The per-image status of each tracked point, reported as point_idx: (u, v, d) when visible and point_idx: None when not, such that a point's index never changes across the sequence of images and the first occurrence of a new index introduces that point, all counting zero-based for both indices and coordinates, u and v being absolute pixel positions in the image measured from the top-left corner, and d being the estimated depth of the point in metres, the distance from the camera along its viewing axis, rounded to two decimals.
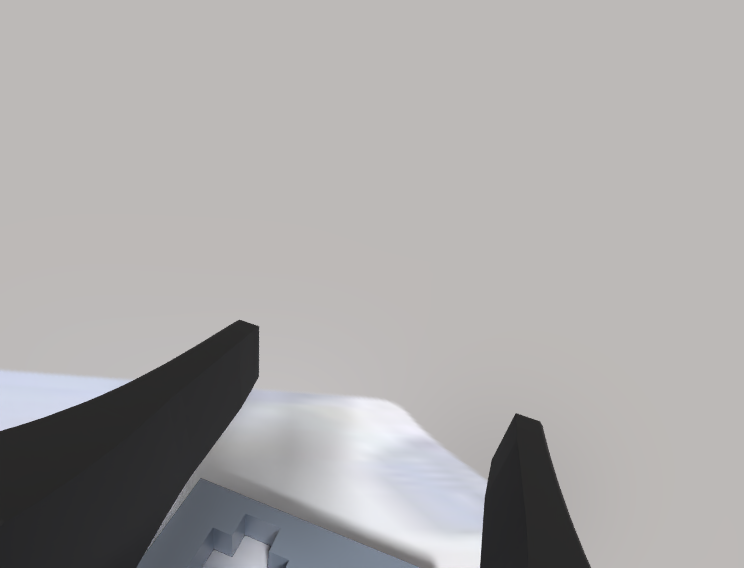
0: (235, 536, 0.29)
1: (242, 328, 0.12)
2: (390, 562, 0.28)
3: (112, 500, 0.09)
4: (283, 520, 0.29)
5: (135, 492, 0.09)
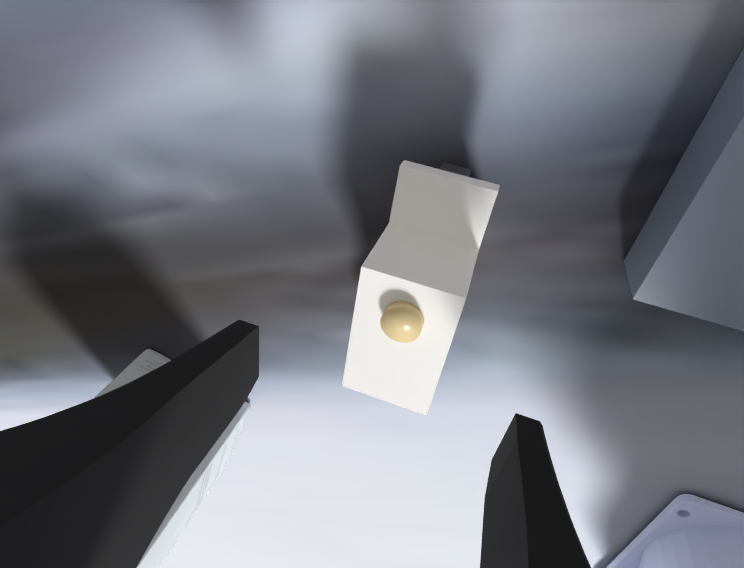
0: None
1: (242, 328, 0.12)
2: None
3: (112, 500, 0.09)
4: None
5: (135, 492, 0.10)
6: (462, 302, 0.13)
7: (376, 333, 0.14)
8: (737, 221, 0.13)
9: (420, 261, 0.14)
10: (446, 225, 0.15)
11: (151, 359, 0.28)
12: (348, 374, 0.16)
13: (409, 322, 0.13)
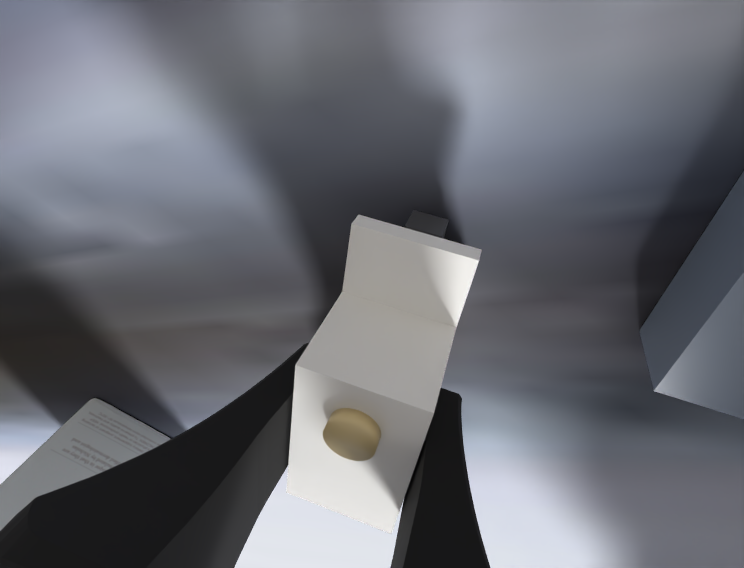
0: None
1: None
2: None
3: (208, 541, 0.08)
4: None
5: (225, 530, 0.09)
6: (429, 417, 0.09)
7: (322, 441, 0.11)
8: None
9: (377, 352, 0.10)
10: (414, 298, 0.11)
11: (96, 411, 0.24)
12: (292, 481, 0.12)
13: (361, 439, 0.10)
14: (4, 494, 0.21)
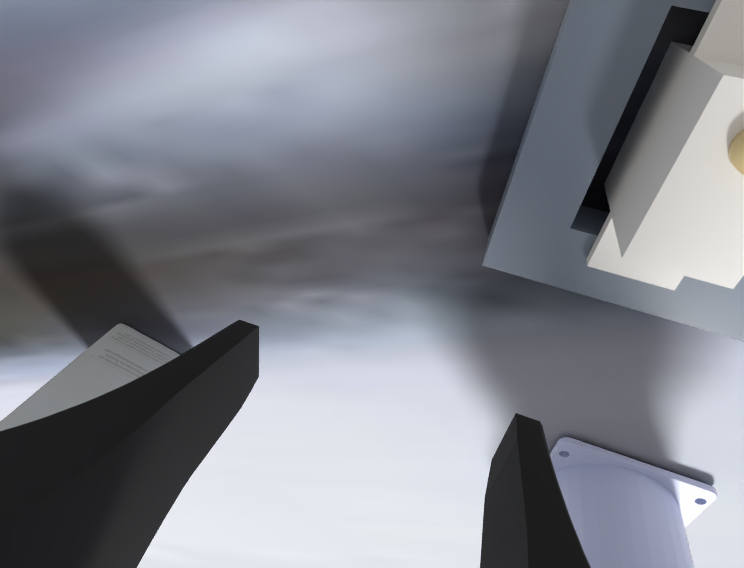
0: None
1: (242, 328, 0.12)
2: None
3: (112, 500, 0.09)
4: None
5: (135, 492, 0.09)
6: None
7: (705, 175, 0.12)
8: (542, 202, 0.17)
9: None
10: None
11: (122, 331, 0.32)
12: (638, 241, 0.13)
13: None
14: (58, 382, 0.28)
